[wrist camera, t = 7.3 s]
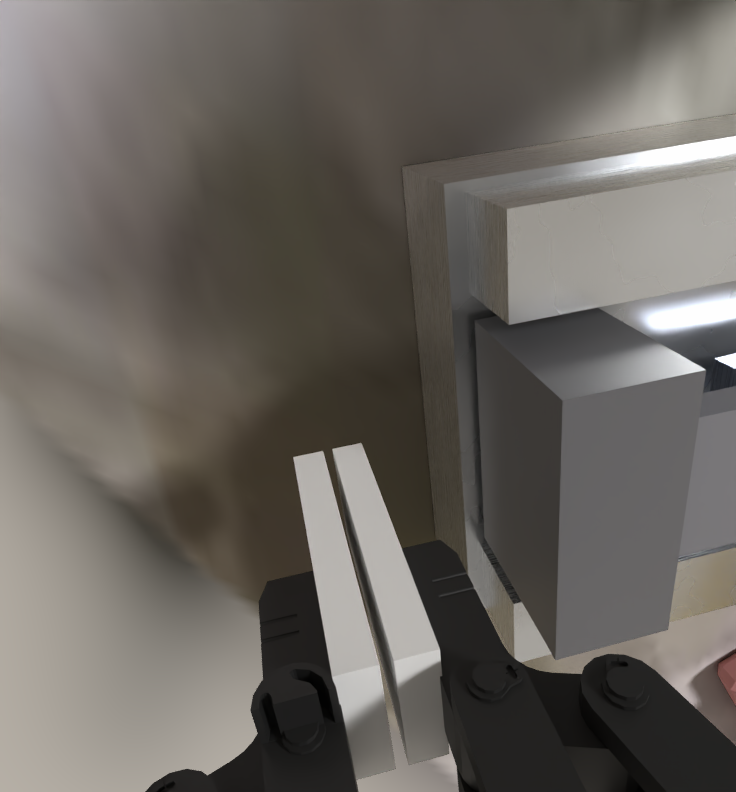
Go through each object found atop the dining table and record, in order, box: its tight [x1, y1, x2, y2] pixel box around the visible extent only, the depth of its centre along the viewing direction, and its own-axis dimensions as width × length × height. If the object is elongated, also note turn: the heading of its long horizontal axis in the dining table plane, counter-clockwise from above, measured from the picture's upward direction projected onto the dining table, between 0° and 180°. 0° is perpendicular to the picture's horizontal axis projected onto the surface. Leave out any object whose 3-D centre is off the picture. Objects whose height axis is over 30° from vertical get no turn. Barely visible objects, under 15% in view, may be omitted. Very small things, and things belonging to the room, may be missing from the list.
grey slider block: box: [475, 308, 736, 660], centre depth 16 cm, size 7×6×5 cm
